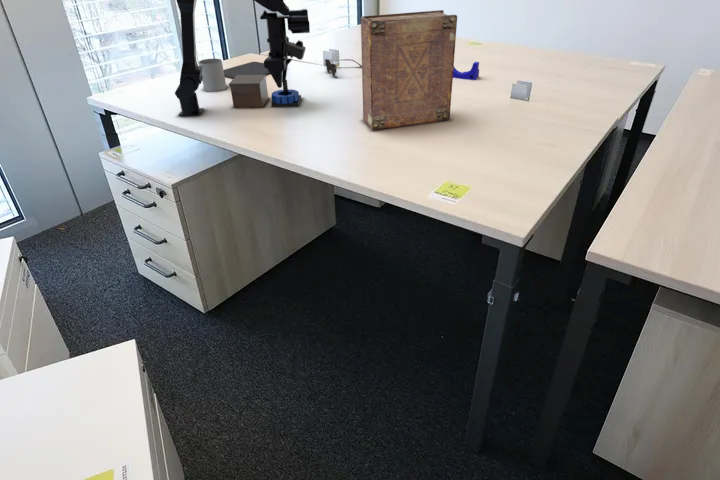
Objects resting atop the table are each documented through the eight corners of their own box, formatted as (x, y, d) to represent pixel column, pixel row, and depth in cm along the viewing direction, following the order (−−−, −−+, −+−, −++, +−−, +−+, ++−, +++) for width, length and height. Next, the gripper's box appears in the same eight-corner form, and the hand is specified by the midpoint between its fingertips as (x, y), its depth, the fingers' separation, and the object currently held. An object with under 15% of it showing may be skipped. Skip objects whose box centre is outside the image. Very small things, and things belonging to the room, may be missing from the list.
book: (437, 111, 156) (444, 9, 139) (449, 120, 148) (458, 14, 132) (362, 120, 150) (360, 16, 133) (371, 130, 143) (370, 21, 126)
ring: (298, 103, 162) (297, 96, 161) (271, 104, 162) (270, 97, 161) (299, 94, 170) (299, 88, 168) (273, 95, 169) (272, 89, 168)
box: (263, 107, 163) (259, 83, 158) (232, 108, 163) (228, 83, 159) (269, 98, 171) (266, 74, 167) (240, 98, 172) (236, 75, 167)
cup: (220, 92, 179) (215, 64, 173) (200, 91, 180) (194, 63, 175) (230, 85, 186) (225, 58, 180) (210, 84, 187) (205, 58, 182)
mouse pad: (245, 81, 190) (245, 80, 190) (213, 73, 200) (212, 72, 200) (286, 68, 205) (286, 67, 205) (254, 62, 215) (253, 61, 215)
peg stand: (297, 106, 163) (295, 83, 159) (271, 106, 163) (268, 84, 159) (301, 98, 170) (299, 76, 166) (276, 98, 171) (273, 76, 166)
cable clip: (478, 77, 187) (480, 61, 184) (475, 80, 184) (476, 64, 181) (449, 73, 192) (450, 58, 189) (445, 76, 189) (446, 61, 185)
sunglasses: (325, 70, 200) (325, 58, 198) (360, 68, 206) (361, 56, 203) (335, 79, 190) (335, 66, 187) (372, 76, 195) (373, 64, 192)
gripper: (297, 39, 142) (301, 92, 150) (306, 29, 158) (309, 78, 166) (260, 39, 143) (266, 92, 151) (273, 29, 159) (278, 78, 167)
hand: (281, 84), depth 159 cm, fingers open, 7 cm apart
